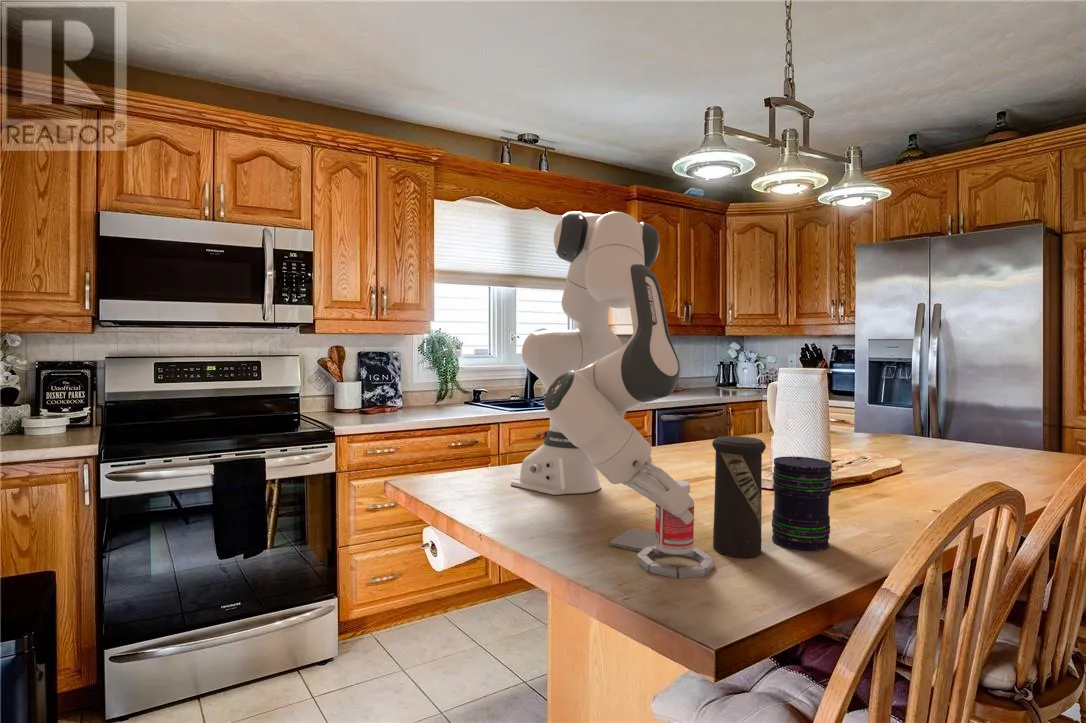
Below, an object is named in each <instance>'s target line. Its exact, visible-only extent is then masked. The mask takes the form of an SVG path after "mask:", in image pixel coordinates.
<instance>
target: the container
mask: <svg viewBox="0 0 1086 723" xmlns="http://www.w3.org/2000/svg"><path fill="white" fill-rule="evenodd" d="M711 444H712V447H713V449H714V450H715V458H714V459H715V462H714V463H715V466H714V468H715V469H714V470H715V471H714V472H715V473H714V474H715V475H714V505H713V506H714V509H713V534H712V535H713V536H712V546H713V547H712V548H713V550H715V551H717V552H719V553H721V554H724V555H726V556H730V557H736V558H754V557H758V556H760V554H761V553H762V508H763V507H762V496H763V495H762V492H763V490H762V488H763V487H762V481H763V480H762V473H763V472H762V469H763V467H762V466H763V465H762V464H763V463H762V462H763V461H762V460H763V458H762V457H763V453H764V452H765V450H766V449H767V446H766V443H765V442H764V441H763V440H761V439H760V438H757V437H752V436H751V437H750V436H741V435H740V436H738V435H734V436H733V435H731V436H730V435H727V436H724V435H723V436H718V437H716V438H714V439H713V440H712V443H711Z"/></svg>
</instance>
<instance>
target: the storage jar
mask: <svg viewBox="0 0 1086 723" xmlns="http://www.w3.org/2000/svg"><path fill="white" fill-rule="evenodd" d="M773 465H774V466H773V473H772V481H773V484H772V487H773V491H774V500H773V502H774V503H773V510H772V519H771V527H772V528H771V531H772V536H771V541H772V542H773V543H774V544H775V545H776V546H778V547H782V548H784V549H786V550H787V549H788V550H791V551H796V552H797V551H798V552H804V553H817V552H818V553H819V552H824V550H825V551H826V550H829V548H830V542H829V540H830V534H831V525H830V524H831V519H830V518H831V517H830V515H829V514H830V510H829V507H830V506H829V505H830V496H831V493H832V487H831V486H832V471H831V470H832V463H831V462H830V461H827V460H826V459H825V460H824V459H820V458H814V457H808V456H807V457H805V456H804V457H803V456H778V457H775V458H774V459H773Z"/></svg>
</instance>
